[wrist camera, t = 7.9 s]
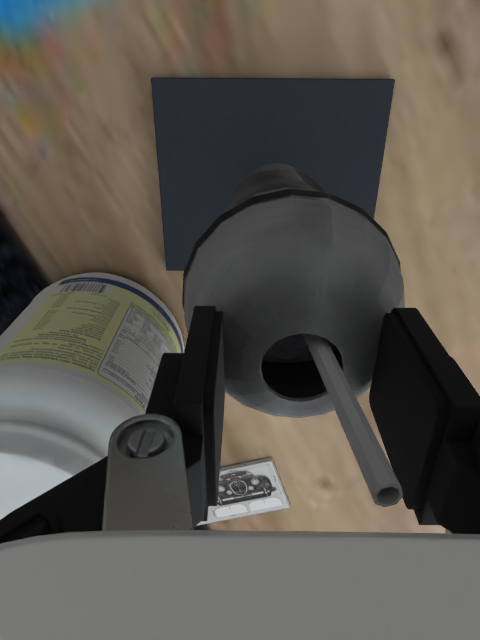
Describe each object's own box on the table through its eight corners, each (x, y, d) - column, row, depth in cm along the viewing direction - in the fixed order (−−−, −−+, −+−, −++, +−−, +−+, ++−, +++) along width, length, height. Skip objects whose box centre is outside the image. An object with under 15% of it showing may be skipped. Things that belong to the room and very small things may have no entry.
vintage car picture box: (148, 530, 47) (139, 573, 43) (121, 488, 44) (109, 530, 40) (289, 503, 45) (293, 546, 41) (271, 457, 42) (274, 498, 38)
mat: (167, 267, 33) (166, 270, 32) (152, 77, 27) (151, 78, 26) (364, 269, 32) (365, 272, 32) (392, 79, 26) (395, 79, 26)
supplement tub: (106, 421, 40) (23, 632, 25) (-4, 321, 35) (-187, 510, 20) (218, 354, 36) (199, 555, 21) (112, 233, 31) (-7, 386, 17)
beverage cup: (182, 196, 25) (20, 501, 8) (289, 102, 23) (412, 236, 5) (264, 289, 28) (283, 673, 10) (368, 214, 25) (622, 551, 8)
